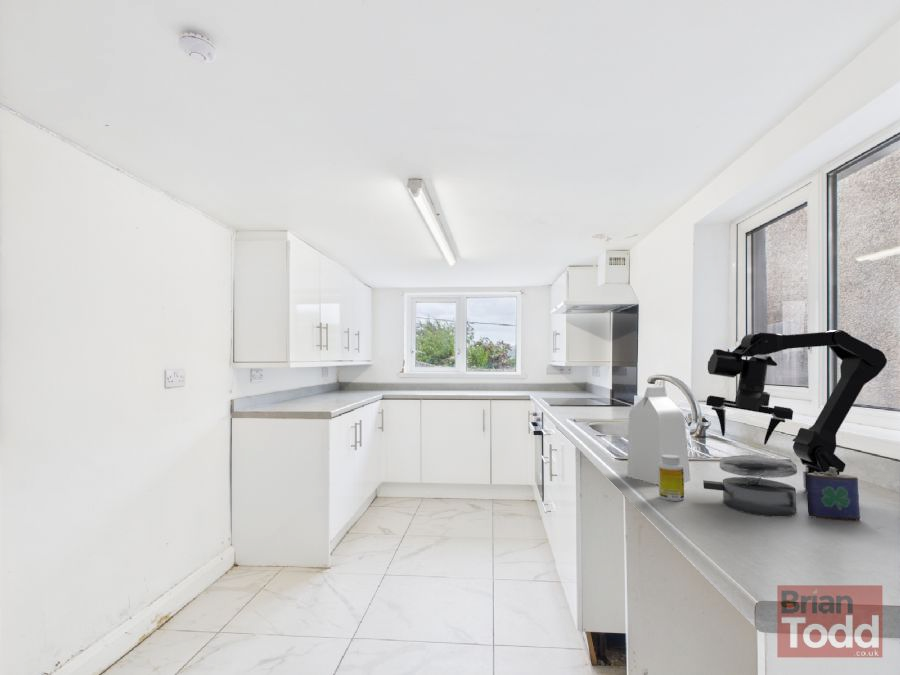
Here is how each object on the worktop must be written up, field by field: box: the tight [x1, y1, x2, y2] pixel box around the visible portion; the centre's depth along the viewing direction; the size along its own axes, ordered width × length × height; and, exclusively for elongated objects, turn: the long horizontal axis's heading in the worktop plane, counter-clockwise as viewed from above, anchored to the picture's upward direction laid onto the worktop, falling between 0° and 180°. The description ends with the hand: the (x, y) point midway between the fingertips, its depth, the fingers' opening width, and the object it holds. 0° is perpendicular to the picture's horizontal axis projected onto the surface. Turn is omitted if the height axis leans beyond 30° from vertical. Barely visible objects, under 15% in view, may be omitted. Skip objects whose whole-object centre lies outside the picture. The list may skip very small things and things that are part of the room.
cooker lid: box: [718, 454, 798, 479], centre depth 109 cm, size 15×15×3 cm
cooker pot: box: [702, 476, 798, 517], centre depth 109 cm, size 18×16×5 cm
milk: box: [626, 386, 691, 486], centre depth 134 cm, size 12×12×26 cm
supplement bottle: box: [658, 455, 685, 502], centre depth 114 cm, size 6×6×10 cm
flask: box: [806, 467, 861, 522], centre depth 100 cm, size 9×3×11 cm, turn 74°
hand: (743, 440), depth 121 cm, fingers open, 9 cm apart
